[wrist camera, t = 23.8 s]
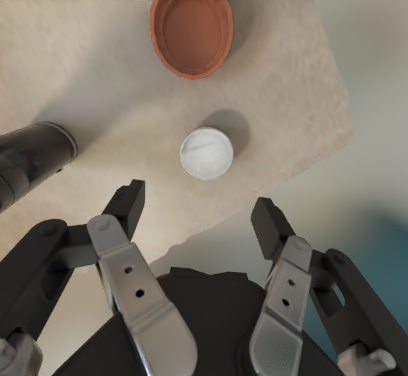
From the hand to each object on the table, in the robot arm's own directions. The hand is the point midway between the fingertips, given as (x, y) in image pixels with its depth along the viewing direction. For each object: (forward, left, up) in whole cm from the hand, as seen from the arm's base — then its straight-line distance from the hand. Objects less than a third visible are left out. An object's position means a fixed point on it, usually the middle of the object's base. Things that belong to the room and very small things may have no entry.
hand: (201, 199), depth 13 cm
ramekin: (+3, -7, -30) cm, 31 cm away
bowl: (-3, +12, -30) cm, 33 cm away
